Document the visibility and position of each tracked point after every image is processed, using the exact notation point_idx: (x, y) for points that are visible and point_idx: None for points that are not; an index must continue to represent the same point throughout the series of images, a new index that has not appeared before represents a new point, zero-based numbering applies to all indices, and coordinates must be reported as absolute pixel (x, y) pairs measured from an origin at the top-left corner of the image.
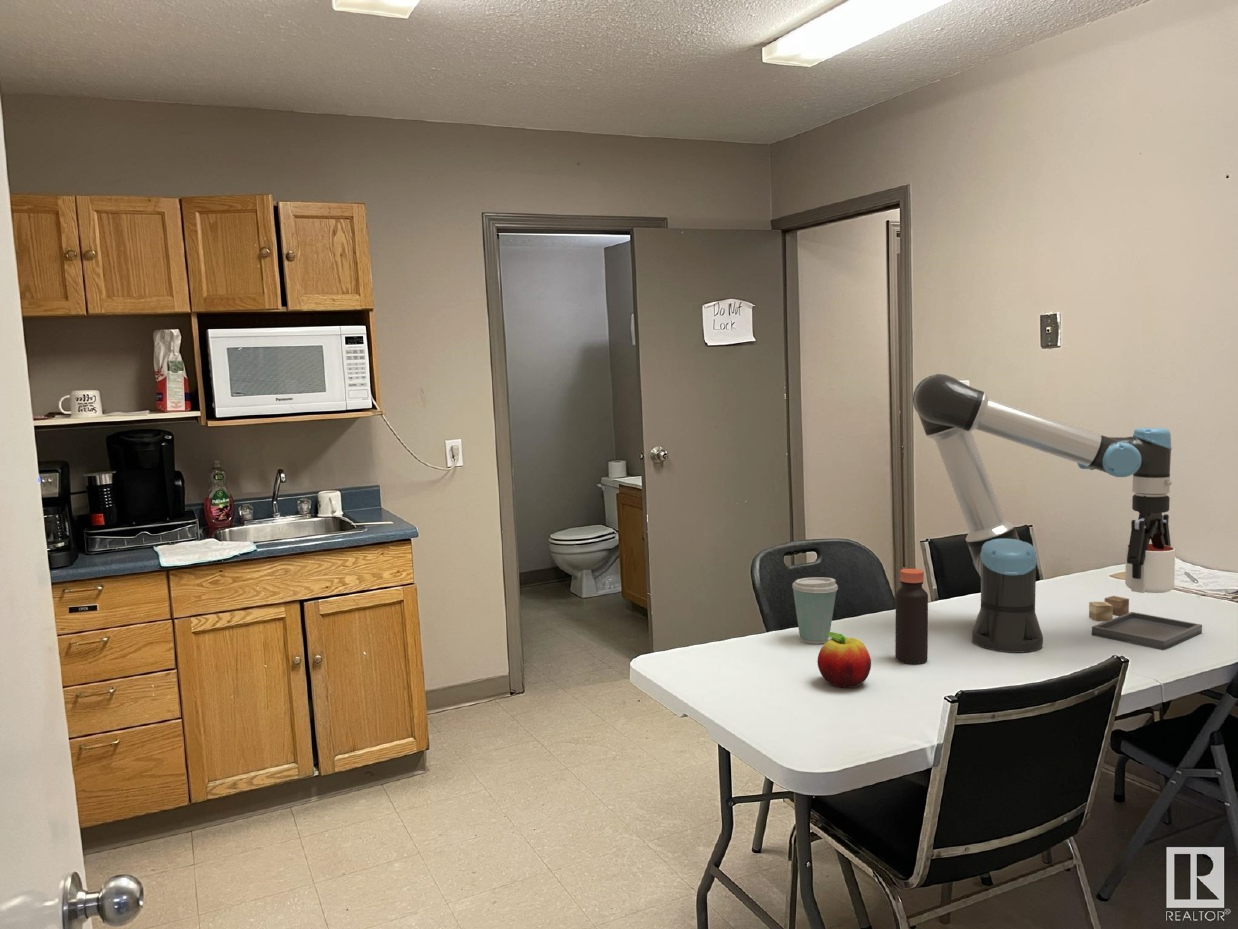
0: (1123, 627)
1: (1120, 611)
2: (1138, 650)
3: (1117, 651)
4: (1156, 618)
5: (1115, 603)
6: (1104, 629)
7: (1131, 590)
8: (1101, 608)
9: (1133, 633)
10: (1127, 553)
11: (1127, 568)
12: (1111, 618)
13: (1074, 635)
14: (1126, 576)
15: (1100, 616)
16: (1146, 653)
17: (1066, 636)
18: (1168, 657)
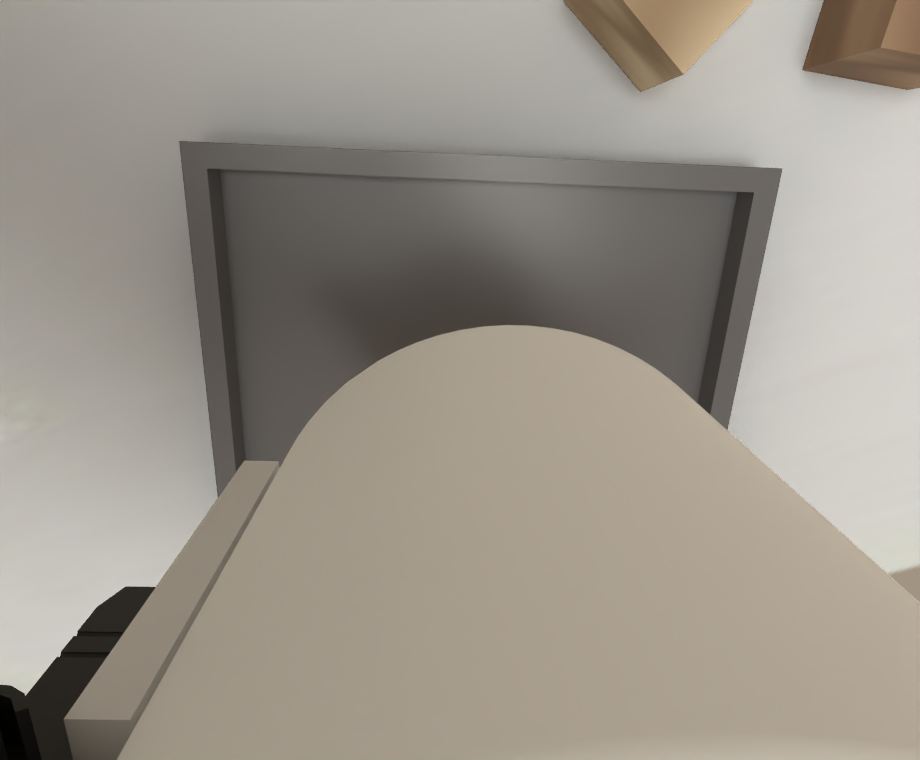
0: (446, 249)
1: (835, 65)
2: (134, 454)
3: (22, 393)
4: (721, 342)
5: (874, 11)
6: (189, 234)
7: (240, 466)
8: (616, 4)
9: (356, 345)
10: (155, 736)
11: (272, 502)
12: (641, 83)
13: (102, 60)
14: (327, 419)
15: (594, 16)
16: (119, 497)
17: (33, 29)
18: (145, 579)
